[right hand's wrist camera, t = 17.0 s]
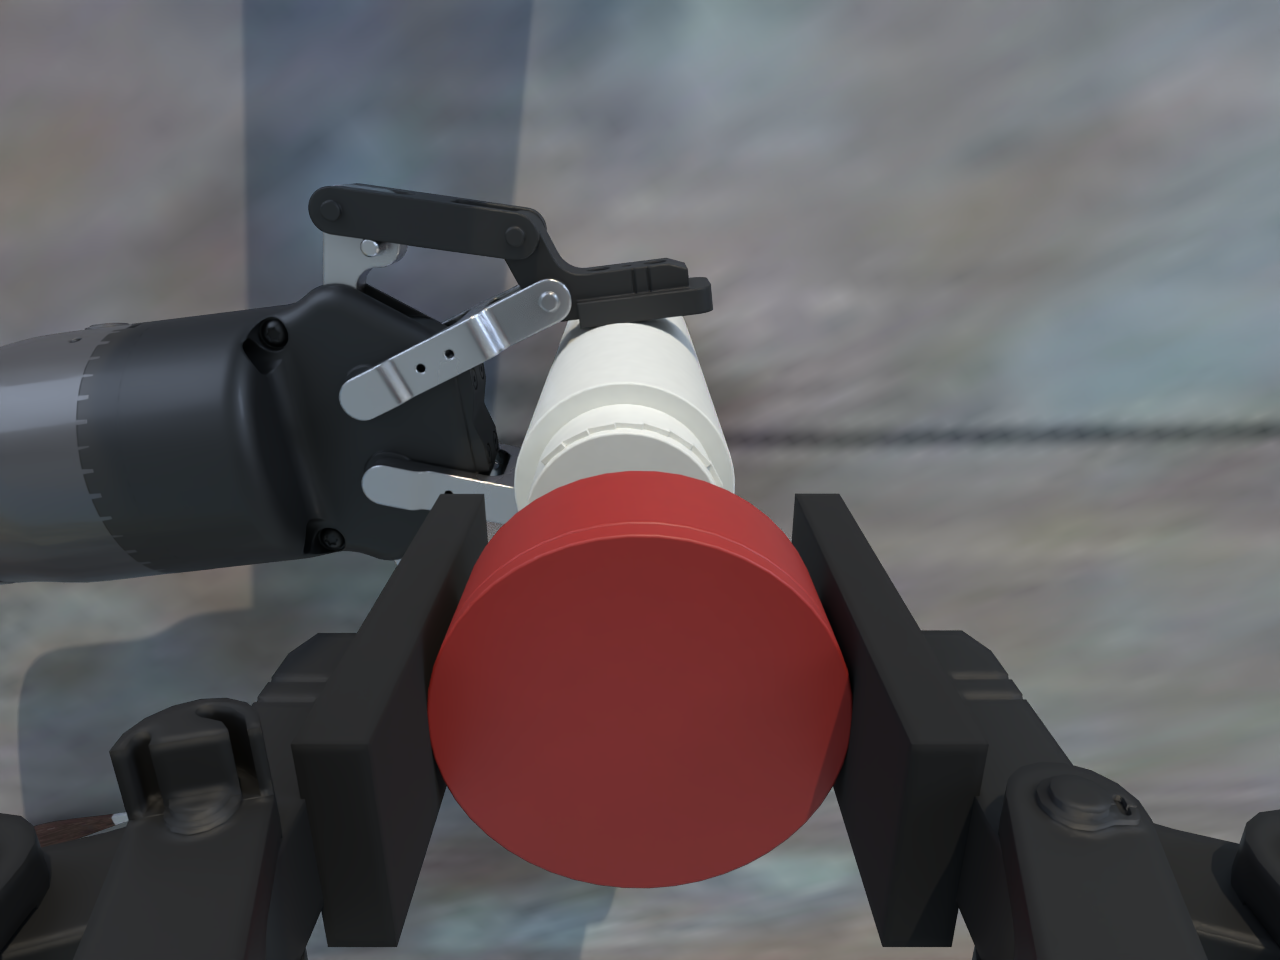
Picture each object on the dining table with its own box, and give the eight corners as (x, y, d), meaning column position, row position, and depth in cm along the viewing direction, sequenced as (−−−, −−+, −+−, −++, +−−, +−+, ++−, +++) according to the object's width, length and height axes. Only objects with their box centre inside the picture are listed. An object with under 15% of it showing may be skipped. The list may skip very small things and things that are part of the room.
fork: (-72, 832, 38) (-108, 866, 37) (246, 757, 37) (226, 788, 35) (-41, 873, 39) (-74, 908, 37) (270, 801, 38) (252, 834, 36)
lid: (402, 531, 12) (354, 607, 10) (767, 420, 11) (795, 478, 9) (534, 814, 14) (516, 926, 12) (854, 731, 13) (893, 835, 11)
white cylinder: (715, 351, 31) (797, 533, 16) (622, 432, 32) (617, 674, 17) (630, 255, 30) (631, 356, 15) (536, 343, 31) (449, 521, 16)
